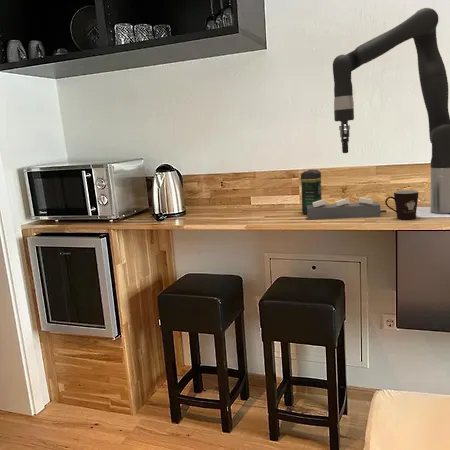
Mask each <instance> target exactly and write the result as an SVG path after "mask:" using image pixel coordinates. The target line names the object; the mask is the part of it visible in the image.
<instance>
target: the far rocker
mask: <svg viewBox="0 0 450 450" xmlns="http://www.w3.org/2000/svg"><path fill="white" fill-rule="evenodd" d="M324 204H325V205H326V204H327V200H326V198H322V200H319V201H316V202H313V207H317V206H321V205H324Z"/></svg>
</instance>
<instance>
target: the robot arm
mask: <svg viewBox="0 0 450 450" xmlns="http://www.w3.org/2000/svg"><path fill="white" fill-rule="evenodd" d="M438 23H439V14H438V12H437V11H436V10H434V9H433V8H430V7H423V8H420V9H419V10H417V11H416V12H415V13H413V14H412V15H411V16H410V17H408V18H407V19H405V20H404V21H403V22H401V23H399V24H398V25H396V26H395V27H393V28H392V29H389V30H388V31H386V32H383V33H382V34H379V35H378V36H375V37H373V38H371V39H369V40H368V41H365V42H363V43H362V44H361V45H358V46H357V47H356V48H355V49H353V50H351V52H348V53H346V54H339V55H337V56H336V57H335V58H334V59H333V61H332V75H333V86H334V87H333V94H334V95H333V97H334V98H333V99H334V100H333V113H334V117H333V119H334V122H340V125H338V130H339V137H340V143H341V151H342V153H343V154H348V153H349V141H350V139H349V138H350V130H351V125H349V123H348V122H349V121H354V119H355V111H354V110H355V108H354V106H355V105H354V103H355V102H354V93H353V91H354V90H353V82H352V72H353V71H355V70H356V69H358V68H359V67H361V66H363V65H364V64H368V63H369V62H371V61H373V60H375V59H377V58H379V57H380V56H382V55H384V54H386V53H388V52H389V51H391V50H392V49H394V48H395V47H398V45H401V44H402V43H404V42H406V41H409V40H411V39H413V42H414V46H415V49H416V54H417V68H418V69H417V70H418V77H419V84H420V89H421V93H422V99H423V103H424V105H425V109H426V113H427V119H428V130H429V131H428V132H429V141H430V143H431V159H430V212H431V213H432V214H433V213H434V214H450V113H449V82H448V81H449V80H448V76H447V70H446V66H445V63H444V60H443V57H442V55H441V53H440V51H439V50H440V49H439V46H438V37H437V27H438Z"/></svg>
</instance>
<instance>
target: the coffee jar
mask: <svg viewBox="0 0 450 450" xmlns="http://www.w3.org/2000/svg"><path fill="white" fill-rule="evenodd" d="M300 184H301V185H300V187H301V212H302V214H303V215H307V205H313V202H316V201H319V200H322V199H323V198H322V172H321V171H320V170H318V169H308V170H306V171H303V172H301V173H300Z"/></svg>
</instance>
